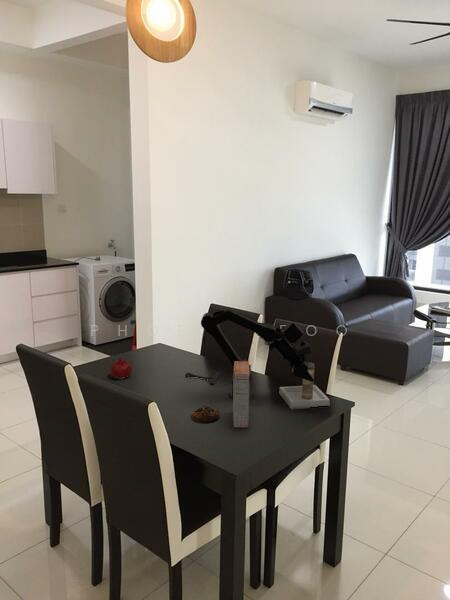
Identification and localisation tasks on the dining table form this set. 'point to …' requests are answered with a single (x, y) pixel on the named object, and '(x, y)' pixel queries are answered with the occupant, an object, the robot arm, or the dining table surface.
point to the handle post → (308, 384)
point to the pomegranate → (120, 369)
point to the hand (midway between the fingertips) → (311, 377)
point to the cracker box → (241, 394)
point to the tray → (296, 401)
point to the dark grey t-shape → (206, 377)
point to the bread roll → (205, 414)
